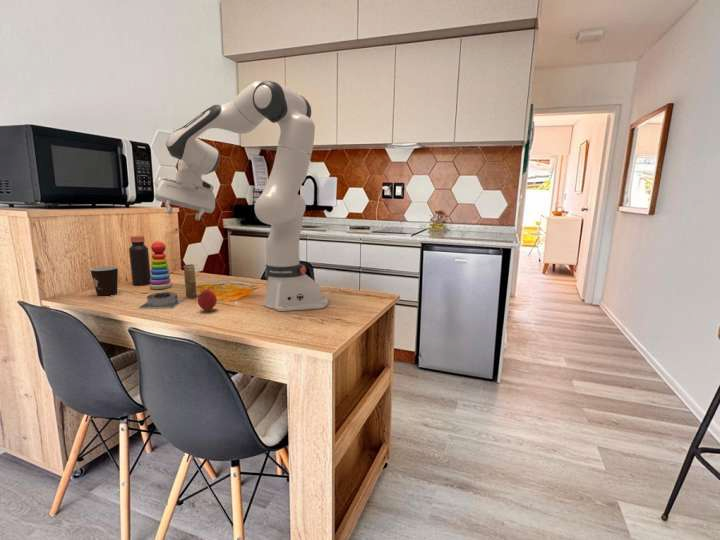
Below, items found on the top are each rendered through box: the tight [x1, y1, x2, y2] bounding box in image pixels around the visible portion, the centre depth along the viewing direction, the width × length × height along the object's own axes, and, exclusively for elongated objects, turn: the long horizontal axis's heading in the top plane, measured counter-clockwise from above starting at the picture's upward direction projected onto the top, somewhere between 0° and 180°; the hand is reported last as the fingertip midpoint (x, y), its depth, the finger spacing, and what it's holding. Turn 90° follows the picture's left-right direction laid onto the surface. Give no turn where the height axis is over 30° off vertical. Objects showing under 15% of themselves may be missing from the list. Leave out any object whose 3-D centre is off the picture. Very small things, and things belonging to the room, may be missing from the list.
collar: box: [138, 291, 186, 309], centre depth 137 cm, size 11×11×3 cm
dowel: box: [183, 264, 198, 300], centre depth 145 cm, size 4×4×12 cm
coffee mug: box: [90, 265, 119, 297], centre depth 148 cm, size 12×9×10 cm
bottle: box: [128, 235, 151, 287], centre depth 162 cm, size 7×7×20 cm
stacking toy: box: [149, 240, 172, 290], centre depth 157 cm, size 8×8×19 cm
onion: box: [197, 286, 218, 312], centre depth 129 cm, size 6×6×8 cm
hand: (183, 216), depth 142 cm, fingers open, 8 cm apart
